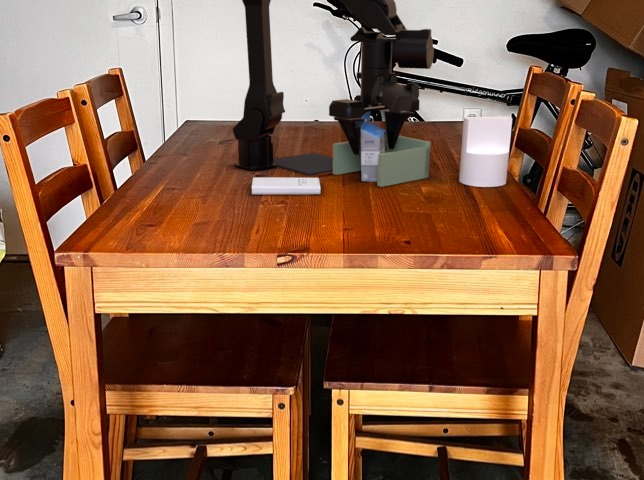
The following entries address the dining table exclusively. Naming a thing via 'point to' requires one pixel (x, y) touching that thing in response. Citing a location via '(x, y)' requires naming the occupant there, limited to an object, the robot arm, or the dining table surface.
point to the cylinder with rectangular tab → (485, 151)
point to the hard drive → (285, 186)
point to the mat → (306, 163)
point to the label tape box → (371, 149)
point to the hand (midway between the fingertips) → (374, 151)
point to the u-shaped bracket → (388, 161)
